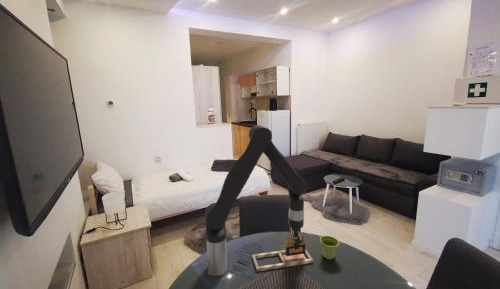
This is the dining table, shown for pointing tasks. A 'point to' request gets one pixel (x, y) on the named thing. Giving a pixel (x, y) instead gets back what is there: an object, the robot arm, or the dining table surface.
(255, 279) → the dining table surface
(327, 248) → the plant pot
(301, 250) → the ammunition clip
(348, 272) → the dining table surface
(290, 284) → the dining table surface
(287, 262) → the wooden double frame
